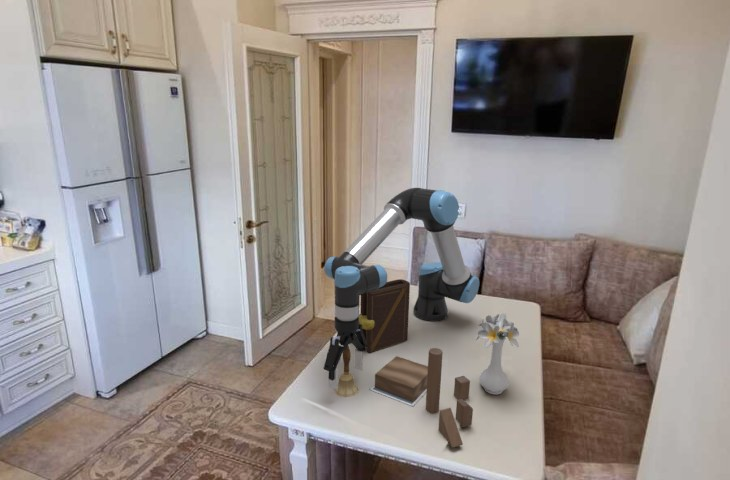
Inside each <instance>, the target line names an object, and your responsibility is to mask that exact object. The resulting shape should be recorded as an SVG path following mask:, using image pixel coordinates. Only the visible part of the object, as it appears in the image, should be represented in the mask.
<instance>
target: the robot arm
mask: <svg viewBox="0 0 730 480" xmlns="http://www.w3.org/2000/svg"><path fill="white" fill-rule="evenodd" d="M459 209H460V205H459V201H458V199H457V197H456V196H455V195H454V194H453V193H452V192H449V191H445V190H441V189H440V190H438V189H430V188H429V189H428V188H423V187H412V188H411V187H409V188H407V189H405V190H402V191H401V192H399V193H398V194H397V195H395V196H393V198H391V199H390V200H389V201H388V202H386V204H385V205H384V206H383V211H382V212H381V213H380V214H379V215H378V216H377V217H376V218H375V219H374V220H373V221H372V222H371V223H370V224H369V225H368V226H367V227H366V229H364V231H362V233H360V235H359V236H358V237H357V238H356V239H354V241H353V242H352V243H351V244H350V245H349V246H348V247H347V248H346V249H345V250H344V251H343V252H342V253H341V254H340V255H339V256H331V257H329V258H327V259H326V261H325V263H324V269H323V270H324V273H325V275H326V276H327V277H329V278H330V279H332V280H333V283H334V328H335V331H336V332H337V334H336V337H333V336H331V337H330V339H329V347H328V350H327V355H326V358H325V361H324V365H323V370H325V371H327V372H328V384H329V385H328V387H329V388H331V389H332V390H334V389H336V390H337V389H338V383H339V376H338V374H339V373H338V372H339V370H338V368H337V367H338V365H339V362H340V360H341V359H342V356H343V351H344V350H345V349H346V347H347V346H349V345H351V344H352V345H353V346H354V347H355V348H356V349H354V351H353V352H354V356H353V357H354V363H353V365H354V366H353V367H354V369H355V370H359V371H362V370H363V358H364V357H363V355H364V352H367V347H366V346H367V342H366V339H365V337H364V334H363V331H362V325H361V324H359V317H358V316H359V314H360V296H361V294H364V293H367V292H370V291H373V290H377V289H379V288H380V287H382V286H384V285H385V284H386V282H388V273H387V271H386V268H385V267H384V266H382V265H380V264H372V265H364V263H365V262H366V261H367V260H368V259H369V257H371V255H372V254H373V253H374V252H375V250H377V249H378V248H379V246H381V244H382V243H383V242H384V241H385V240H386V239H387V238H388V237H389V236H391V234H392V232H393V231H395V229H396V228H397V227H398V226H399V225H403V224H404V223H405V222H406V221H407V220H411V219H414V220H419V221H422V222H423V226H424V228H425V230H426V231H427V232H429V233H431V236H432V241H433V243H434V246H435V249H436V252H437V255H438V258H439V262H427V263H424V264H422V265H420V267H419V272H418V290H417V291H418V294H417V299H416V301H415V303H414V306H413V315H414V316H415V317H417V318H418V319H421V320H424V321H434V322H435V321H441V320H445V319H446V318H447V317H448V316H449V309H448V305H447V302H446V298H447V299H451V300H452V301H453V300H454V301H457V302H459V303H464V304H469V303H472V301H474V299H475V298H476V296H477V294H478V291H479V289H480V288H479V287H480V279H479V277H477V276H476V275H472V273H471V269H470V268H469V267H468V265H466V264H465V262H464V259H463V256H462V255H463V254H462V252H461V248H460V245H459V241H458V238H457V234H456V231H455V228H454V225H455V223H456V221H457V220H458V217H459V213H460V212H459ZM364 347H366V348H364Z"/></svg>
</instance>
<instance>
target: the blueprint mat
mask: <svg viewBox="0 0 730 480" xmlns="http://www.w3.org/2000/svg"><path fill="white" fill-rule="evenodd" d="M368 390H369V391H371V392H374V393H376V394H378V395H381V396H384V397H386V398H389V399H391V400H394V401H397V402H399V403H402V404H404V405H407V406H409V407H412V408H414V407H415V406H416V405H417V403H418V402H419V401H420V400H422V398H423V397H424V396H425V395H426V392H427V388H426V389H425V390H424V391H423V392H422V394H421V395H420V396H419V397H418V398H417V399H416V400H415V401H414V402H411V401H408V400H405V399H403V398H400V397H398V396H395V395H392V394H390V393H387V392H385V391H382V390H379V389H377V388H375V384H373V385H372V386H371V387H370V388H369V389H368Z"/></svg>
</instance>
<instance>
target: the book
mask: <svg viewBox="0 0 730 480" xmlns="http://www.w3.org/2000/svg"><path fill="white" fill-rule="evenodd" d="M410 286H411V283H410V281H407V280H406V279H401V278H400V279H395V280H390V281H387V282H386V284H385V285H384V286H382V287H380V288H379V289H377V290H373V291H370V292H367V293H364V294H361V295H360V313H359V316H358V317H359V324H361V325H362V331H363V334H364V337H365V339H366V342H367V346H366V347H364V348H366V353H367V354H368V355H370V354H373V353H376V352H379V351H382V350H385V349H388V348H390V347H394V346H397V345H400V344H403V343H405V342H408V339H409V337H408V336H409V313H410V310H409V309H410V292H411V291H410V290H411V289H410V288H411V287H410Z"/></svg>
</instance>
